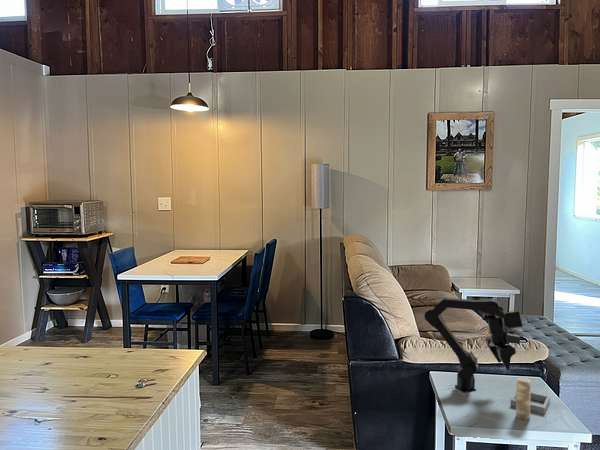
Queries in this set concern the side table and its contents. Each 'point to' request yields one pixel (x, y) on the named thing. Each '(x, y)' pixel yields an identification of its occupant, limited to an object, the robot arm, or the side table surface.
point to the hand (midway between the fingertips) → (503, 365)
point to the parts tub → (533, 407)
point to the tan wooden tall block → (523, 398)
